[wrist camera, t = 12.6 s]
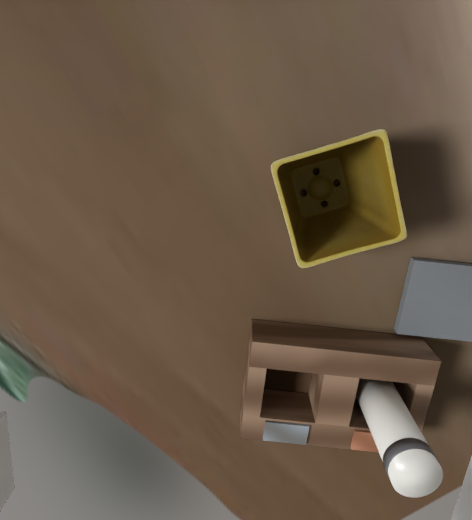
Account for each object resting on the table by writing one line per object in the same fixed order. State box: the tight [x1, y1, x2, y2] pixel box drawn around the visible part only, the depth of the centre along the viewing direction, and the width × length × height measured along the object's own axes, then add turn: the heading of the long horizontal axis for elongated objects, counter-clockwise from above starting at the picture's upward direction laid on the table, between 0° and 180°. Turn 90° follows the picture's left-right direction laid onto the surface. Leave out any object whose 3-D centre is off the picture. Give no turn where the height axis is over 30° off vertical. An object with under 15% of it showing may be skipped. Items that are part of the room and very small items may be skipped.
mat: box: [394, 257, 472, 342], centre depth 43 cm, size 8×8×1 cm
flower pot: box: [271, 129, 407, 268], centre depth 37 cm, size 9×9×9 cm
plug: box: [356, 378, 443, 497], centre depth 40 cm, size 4×4×14 cm
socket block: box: [240, 319, 441, 452], centre depth 44 cm, size 11×18×5 cm, turn 84°
